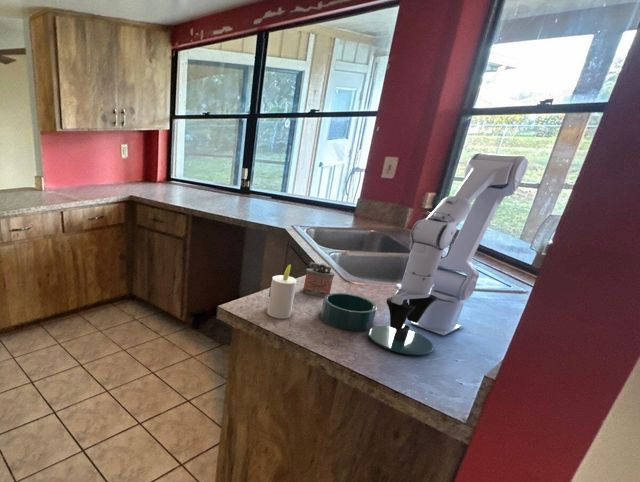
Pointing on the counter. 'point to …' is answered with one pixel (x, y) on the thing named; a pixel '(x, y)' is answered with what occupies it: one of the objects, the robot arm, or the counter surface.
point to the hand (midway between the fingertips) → (404, 324)
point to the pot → (348, 311)
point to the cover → (400, 340)
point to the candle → (281, 295)
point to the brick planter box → (318, 280)
